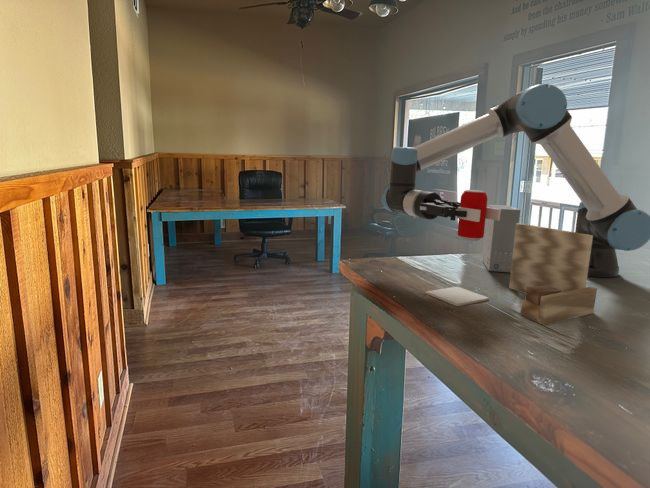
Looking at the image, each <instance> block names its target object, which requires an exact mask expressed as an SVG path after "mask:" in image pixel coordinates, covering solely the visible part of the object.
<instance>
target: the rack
mask: <svg viewBox="0 0 650 488" xmlns="http://www.w3.org/2000/svg"><path fill="white" fill-rule="evenodd" d="M592 240H593V235H588V234H582V233H576V232H575V231H568V230H564V229H557V228H550V227H544V226H538V225H534V224H533V225H532V224H526V223H521V222H519V223H517V224H516V228H515V237H514V246H513V256H512V265H511V273H509V274H510V275H509V284H508V285H509V287H508V288H509V289H512V290H515V291H518V292H520V293H523V294H526V290H527V287H533V286H551V287H554V288H556V289H559V290H561V291H562V292H561V293H556V294H551V295H546V296H541V301H540V310H539V318H538V320H537V324H540V325H543V326H546V325H551V324H554V323H558V322H562V321H566V320H571V319H575V318H579V317H582V316H583V317H584V316H586V315H587V316H588V315H591V314H594V312H595V304H596V299H597V291H598V288H596V287H594V286H593V287H592V286H587V283H588V282H587V280H588V276H587V275H588V268H589V261H590V254H591V247H592Z"/></svg>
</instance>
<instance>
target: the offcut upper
mask: <svg viewBox="0 0 650 488" xmlns="http://www.w3.org/2000/svg"><path fill="white" fill-rule="evenodd" d="M561 292H562V291H561V290H559V289H556V288H554V287H551V286H533V287H527V290H526V293H525V299H524V300H528V301H530V302H532V303H534V304H537V305H540V301H541V296H546V295H551V294H556V293H561Z"/></svg>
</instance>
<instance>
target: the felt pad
mask: <svg viewBox="0 0 650 488" xmlns="http://www.w3.org/2000/svg"><path fill="white" fill-rule="evenodd" d="M425 293H426V294H427V295H428V296H431V297H434V298H436V299H439V300H441V301H443V302H446V303H448V304H450V305H452V306H456V307H461V306H466V305H470V304H476V303H482V302H487V301H490V297H488V296H485V295H483V294H479V293H477V292H474V291H471V290H469V289H466V288H464V287H460V286H452V287H446V288H439V289H433V290H427V291H425Z"/></svg>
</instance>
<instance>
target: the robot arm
mask: <svg viewBox="0 0 650 488" xmlns="http://www.w3.org/2000/svg"><path fill="white" fill-rule="evenodd" d="M567 107H568V100H567V97H566V95H565V93H564V91H563V90H561V89H560V88H559V87H557V86H556V85H553V84H549V83H542V84H541V83H539V84H533V85H530V86H528V87H527V88H525V89H523V90H521V91H518V92H516V93H515V94H514V95H511V96H510V97H509V98H507V99H506V100H505V101H503V102H501V103H499V104H498V105H495V106H494V107H492V108H489V109H488V111H487V113H486V114H484V115H482V116H479V117H478V118H475V119H473V120H471V121H468V122H466V123H464V124H462V125H459V126H458V127H455V128H453V129H451V130H449V131H447V132H444V133H443V134H440V135H437V136H436V137H433V138H431V139H428V140H427V141H424V142H423V143H420V144H418V145H416V146H414V147H410V146H409V147H406V146H395V147H393V148H392V150H391V156H390V160H389V162H388V171H389V176H390V177H389V178H390V180H389V186H388V187H387V188H386V189H385V190H384V191H383V193H382V195H381V204H382V207H383V208H384V209H385V210H387V211H389V212H392V213H394V214H401V215H403V216H411V217H413V219H415V220H417V218H421V219H424V220H430V221H431V220H435V219H436V218H437V217H442V218H444V219H445V218H448V217H449V218H450V221H456V219H458V220H459V219H464V220H470V221H475V222H479V221H480V212H481V210H476V209H470V208H463V207H460V202H459V201H452V200H451V201H450V200H448V199H442V198H441V196H440V195H439V193H437V192H435V191H434V192H433V191H426V190H420V189H416V176H417V172H419V171H422V170H424V169H426V168H428V167H431V166H432V165H433V166H434V165H435V164H437V163H439V162H442V161H445V160H447V159H448V158H452V157H453V156H456V155H457V154H461V153H463V152H465V151H467V150H470V149H471V148H474V147H476V146H479V145H480V144H483V143H486V142H488V141H490V140H492V139H494V138H498V139H499V138H500V139H503V138H505V137H507V136H509V135H512V134H516V133H521V132H524V133H525V134H526V136H527V138H528V139H529V140H530V142H531V143H532V144H535V145H537V144H538V145H541V147H542V148H543V150H544V152H546V154H547V155H548V157H549V158H550V160H551V161H552V162H553V163H554V165H555V166H556V168H557V169H558V171H559V172H560V173H561V175H562V177H563V178H564V179H565V181H566V182H567V183H568V184H569V186H570V187H571V189H572V190H573V191H574V193H575V194H576V196H577V197H578V198H579V200H580V202H579V204H578V209H577V212H576V213H577V215H576V224H575V230H574V232H576V233H582V234H588V235H593V240H592V247H591V254H590V261H589V268H588V275H587V277H595V278H616V277H618V276H619V273H620V266H619V263H618V257H617V251H616V250H619V251H626V252H628V251H629V252H630V251H635V250H639V249H640V248H642V247H644V246H645V245H646V244H647V243H648V242H649V241H650V215H649V214H648V213H647V212H646V211H644V210H641V209H638V208H637V206H636V205H635V204H634V202H633V201H632V199H631V198H630V197H629V195H628V194H625V193H624V194H623V193H619V192H618V190H617V189H616V188H615V187H614V185H613V184H612V182H611V181H610V179H609V178H608V177H607V175H606V174H605V172H604V171H603V170H602V168H601V167H600V166H599V164H598V163H597V161H596V160H595V159H594V157H593V156H592V154H591V153H590V151H589V150H588V148H587V147H586V145H584V143H583V141H582V140H581V138H580V137H579V136H578V135H577V133H576V132H575V130H574V129H573V127H572V126H571V123H572V119H573V116H572V114H571V113H570V112H569V110H568V108H567ZM500 214H501V209H495V208H488V206H487V209H486V218H485V220H487V219H491V220H497V221H500Z"/></svg>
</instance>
